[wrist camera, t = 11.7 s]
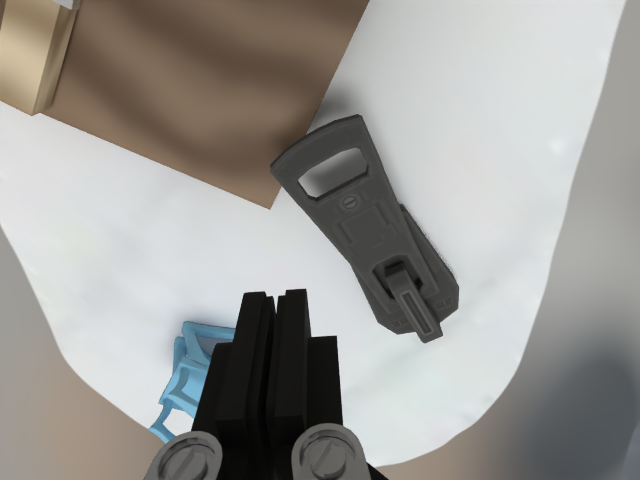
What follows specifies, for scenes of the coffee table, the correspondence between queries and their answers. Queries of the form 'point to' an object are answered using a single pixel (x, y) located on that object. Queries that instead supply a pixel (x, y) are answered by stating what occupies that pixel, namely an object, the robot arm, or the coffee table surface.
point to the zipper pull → (372, 232)
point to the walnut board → (203, 81)
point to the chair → (187, 374)
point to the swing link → (32, 52)
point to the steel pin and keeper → (69, 3)
